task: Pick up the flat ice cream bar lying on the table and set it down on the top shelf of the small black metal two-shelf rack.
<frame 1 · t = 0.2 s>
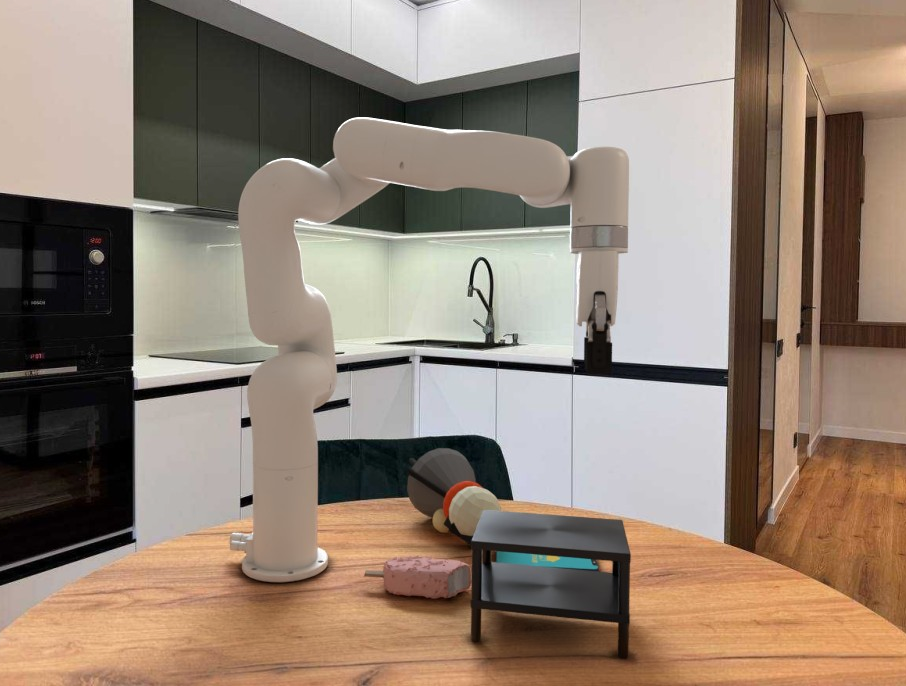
hand: (597, 369, 93), 31 cm above the table, tool pointing down, fingers open, 9 cm apart
toy 2: (445, 526, 122), on the table
smartphone: (545, 563, 106), on the table
ice cream bar: (417, 592, 95), on the table
rack: (549, 625, 86), on the table
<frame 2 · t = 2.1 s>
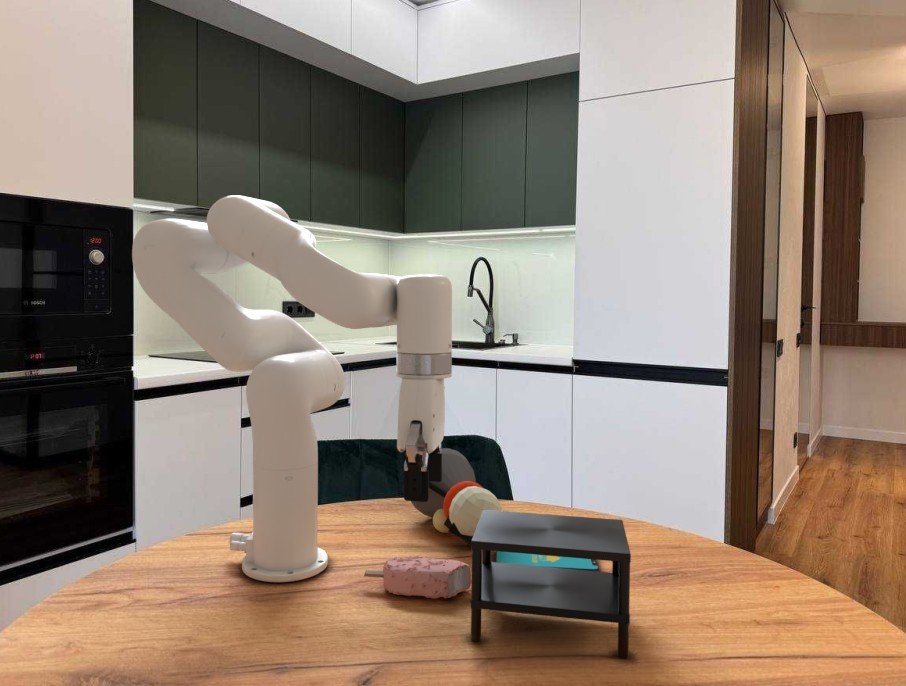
hand: (423, 490, 95), 14 cm above the table, tool pointing down, fingers open, 9 cm apart
nothing on the table moved.
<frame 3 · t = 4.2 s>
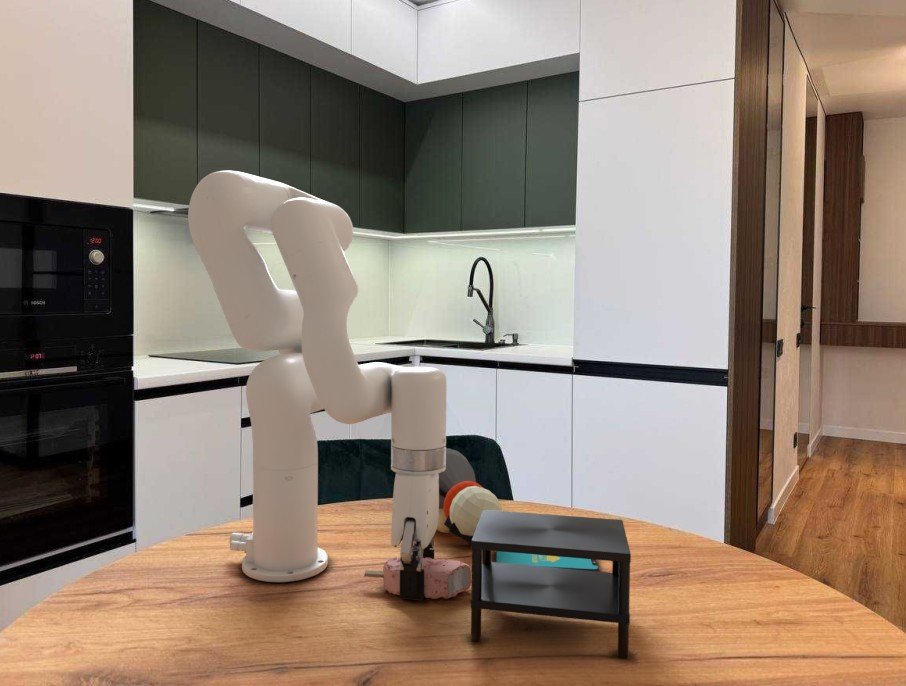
hand: (417, 586, 95), 1 cm above the table, tool pointing down, fingers closed on ice cream bar, 6 cm apart
ice cream bar: (417, 592, 95), on the table, touching gripper
everything else where it was.
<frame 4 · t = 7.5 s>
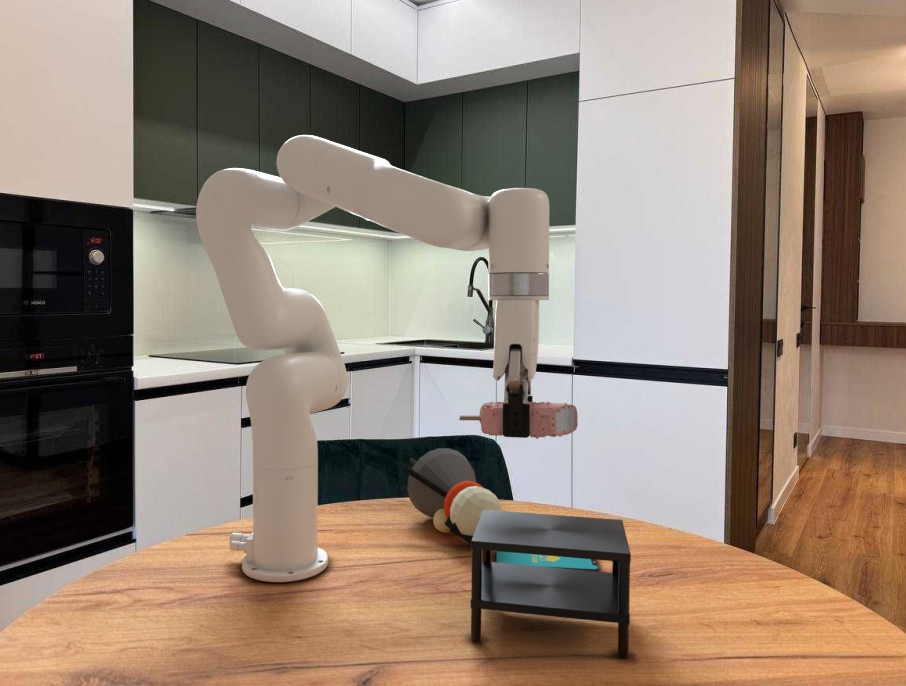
hand: (518, 429, 87), 24 cm above the table, tool pointing down, fingers closed on ice cream bar, 6 cm apart
ice cream bar: (517, 436, 87), point 23 cm above the table, touching gripper
everything else where it was.
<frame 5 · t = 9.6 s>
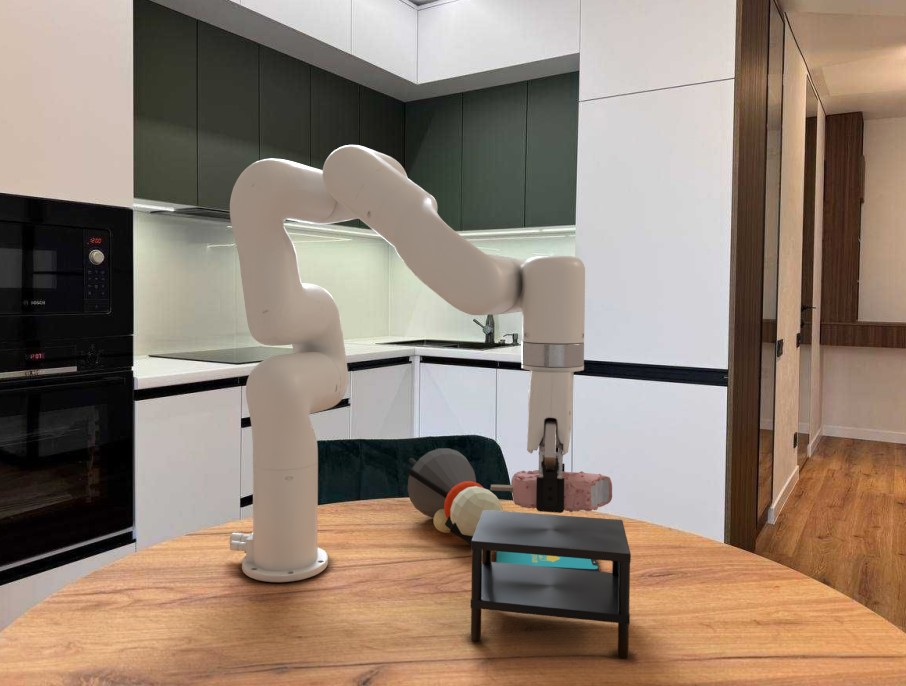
hand: (550, 501, 85), 16 cm above the table, tool pointing down, fingers closed on ice cream bar, 6 cm apart
ice cream bar: (550, 508, 85), point 15 cm above the table, touching gripper
everything else where it was.
when the fingers open (13 cm above the table, at t = 10.9 s): ice cream bar stays where it is, resting on rack.
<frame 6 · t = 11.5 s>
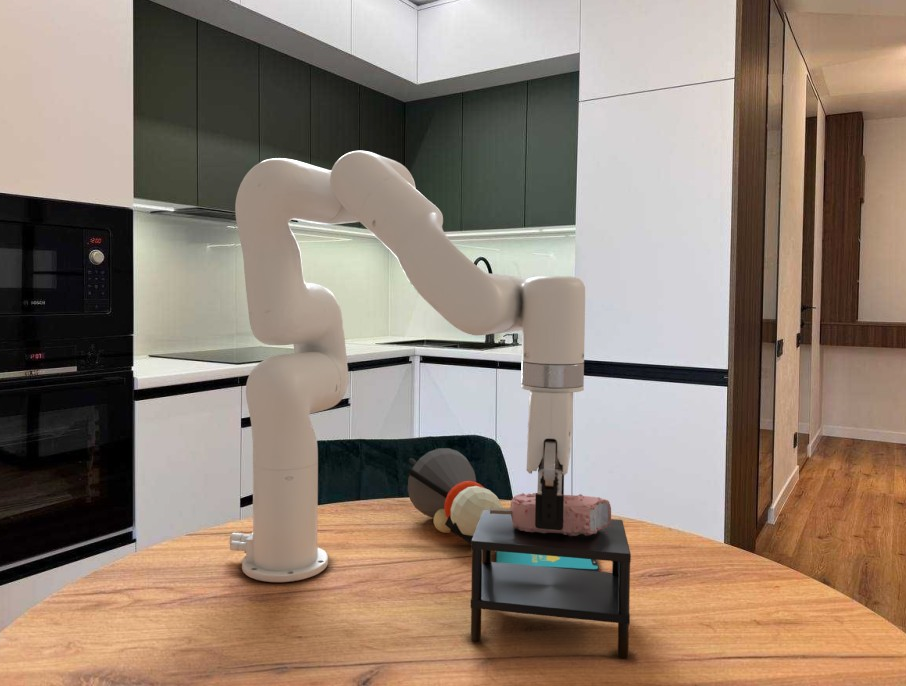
hand: (550, 515, 85), 14 cm above the table, tool pointing down, fingers open, 9 cm apart
ice cream bar: (549, 531, 85), point 12 cm above the table, touching rack
everything else where it was.
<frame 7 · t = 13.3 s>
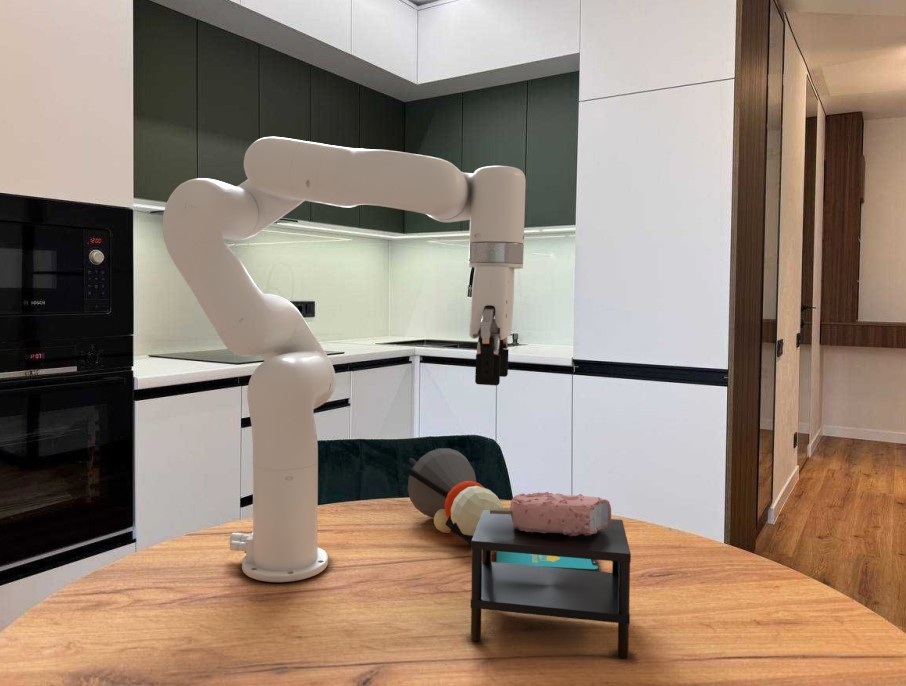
hand: (492, 380, 97), 29 cm above the table, tool pointing down, fingers open, 9 cm apart
nothing on the table moved.
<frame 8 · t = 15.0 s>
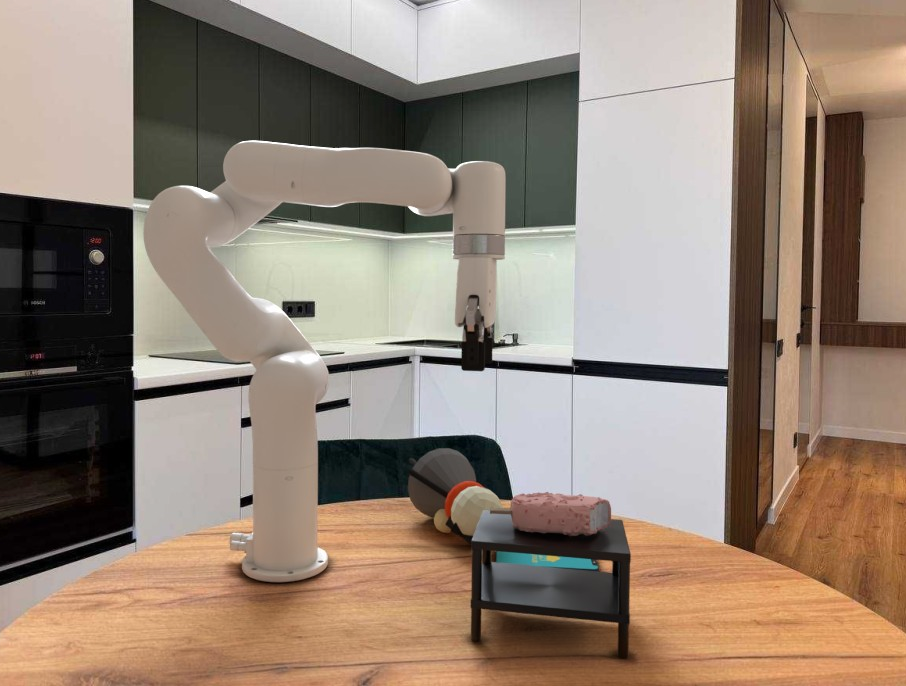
hand: (477, 367, 101), 30 cm above the table, tool pointing down, fingers open, 9 cm apart
nothing on the table moved.
at the end: ice cream bar inside the target area on the rack (0.1 cm from its centre), point 11.8 cm above the rack's base; the gripper is holding nothing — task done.
